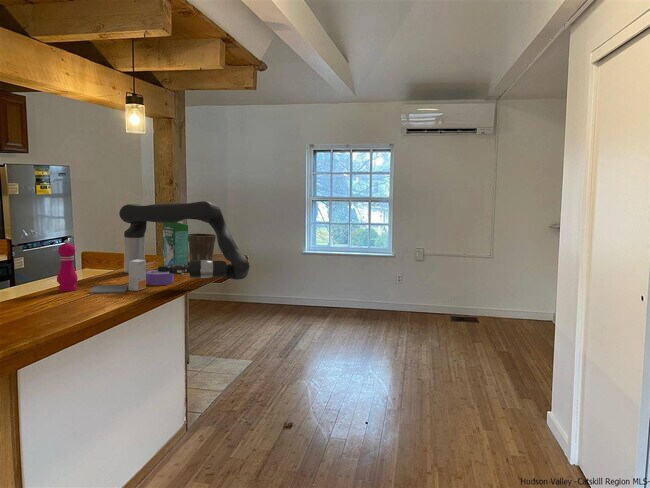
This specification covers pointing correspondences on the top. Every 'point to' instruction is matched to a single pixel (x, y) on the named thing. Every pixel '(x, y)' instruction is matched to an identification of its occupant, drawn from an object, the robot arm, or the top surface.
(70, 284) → the pepper mill
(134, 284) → the skincare box
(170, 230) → the milk carton
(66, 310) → the top surface
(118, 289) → the mat
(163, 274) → the tape roll
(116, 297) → the top surface
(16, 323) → the top surface
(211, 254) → the plant pot
